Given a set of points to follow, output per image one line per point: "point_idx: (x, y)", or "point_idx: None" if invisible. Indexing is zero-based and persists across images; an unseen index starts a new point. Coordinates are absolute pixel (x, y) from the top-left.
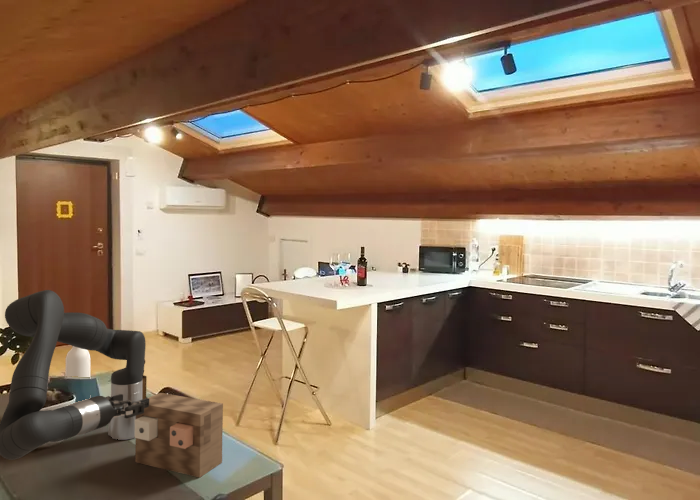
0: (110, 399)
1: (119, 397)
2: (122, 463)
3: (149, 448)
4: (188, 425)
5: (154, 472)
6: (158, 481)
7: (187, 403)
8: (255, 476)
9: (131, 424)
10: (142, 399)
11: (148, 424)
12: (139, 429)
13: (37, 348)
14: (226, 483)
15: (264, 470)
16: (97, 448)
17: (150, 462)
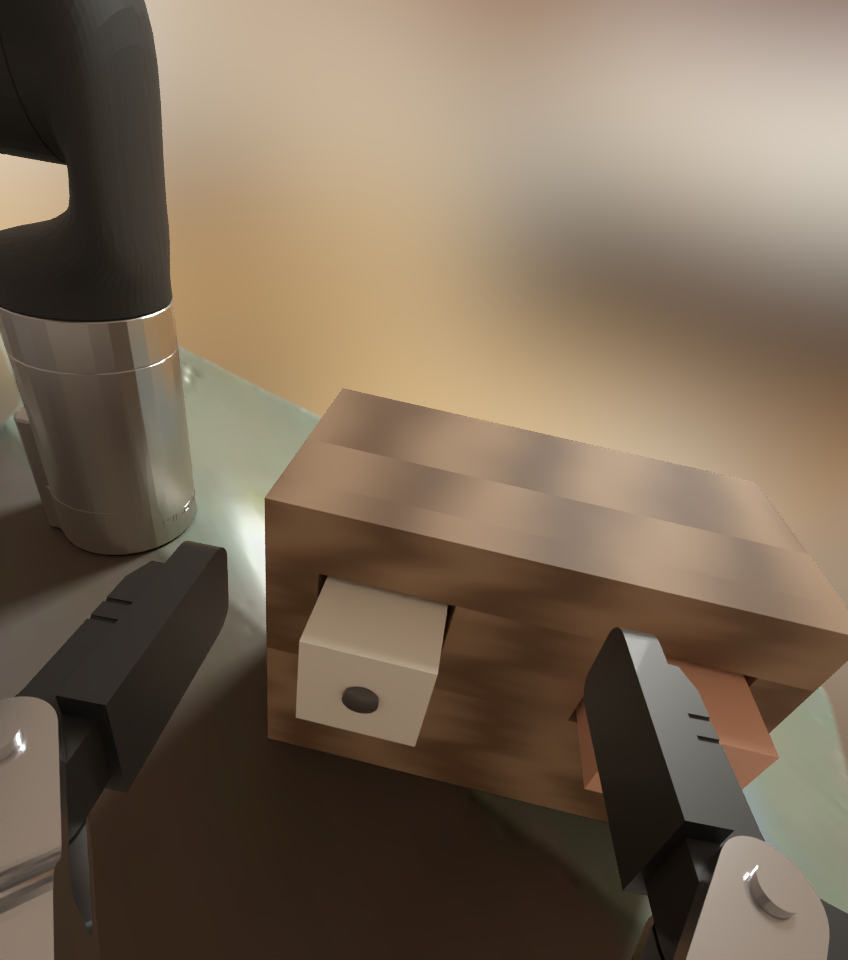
0: (65, 771)
1: (194, 608)
2: (202, 764)
3: None
4: (712, 674)
5: (420, 831)
6: (505, 945)
7: (600, 491)
8: (830, 764)
9: (158, 496)
10: (645, 700)
11: (429, 682)
12: (344, 695)
13: None
14: (805, 865)
15: (805, 708)
16: (16, 632)
17: (364, 753)
